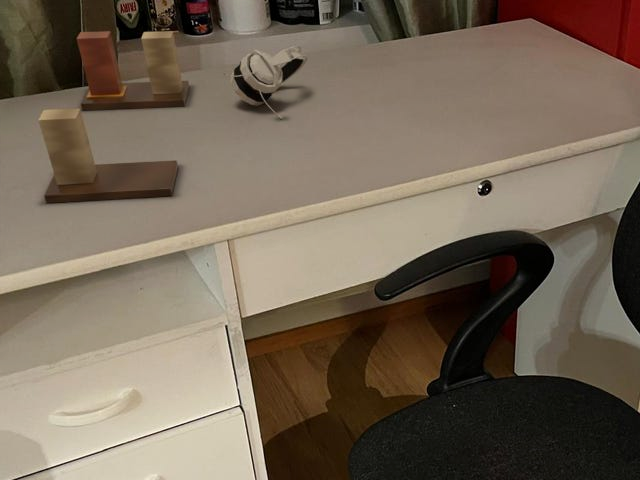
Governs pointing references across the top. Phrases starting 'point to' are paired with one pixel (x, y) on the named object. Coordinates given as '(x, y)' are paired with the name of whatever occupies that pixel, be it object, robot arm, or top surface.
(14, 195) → the top surface
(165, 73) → the upright block on base
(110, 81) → the tall red-orange pillar
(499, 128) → the top surface
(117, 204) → the top surface
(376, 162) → the top surface
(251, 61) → the headphones
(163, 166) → the cream block stand
